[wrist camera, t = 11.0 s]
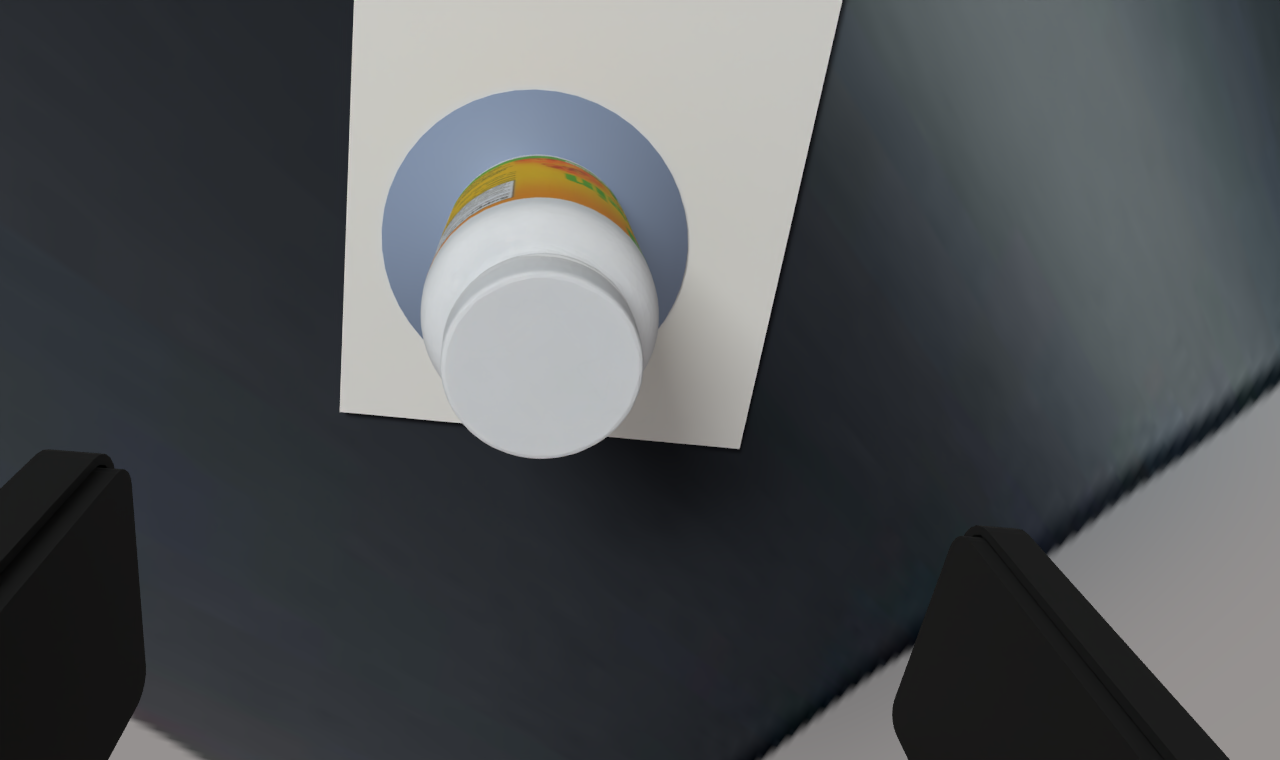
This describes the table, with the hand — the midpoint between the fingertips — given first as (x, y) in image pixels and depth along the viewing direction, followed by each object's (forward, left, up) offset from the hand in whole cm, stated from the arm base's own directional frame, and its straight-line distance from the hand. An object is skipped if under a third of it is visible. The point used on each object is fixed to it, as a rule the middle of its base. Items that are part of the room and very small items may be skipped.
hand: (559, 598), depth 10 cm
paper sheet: (-3, +1, -18) cm, 18 cm away
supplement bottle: (0, 0, -17) cm, 17 cm away
